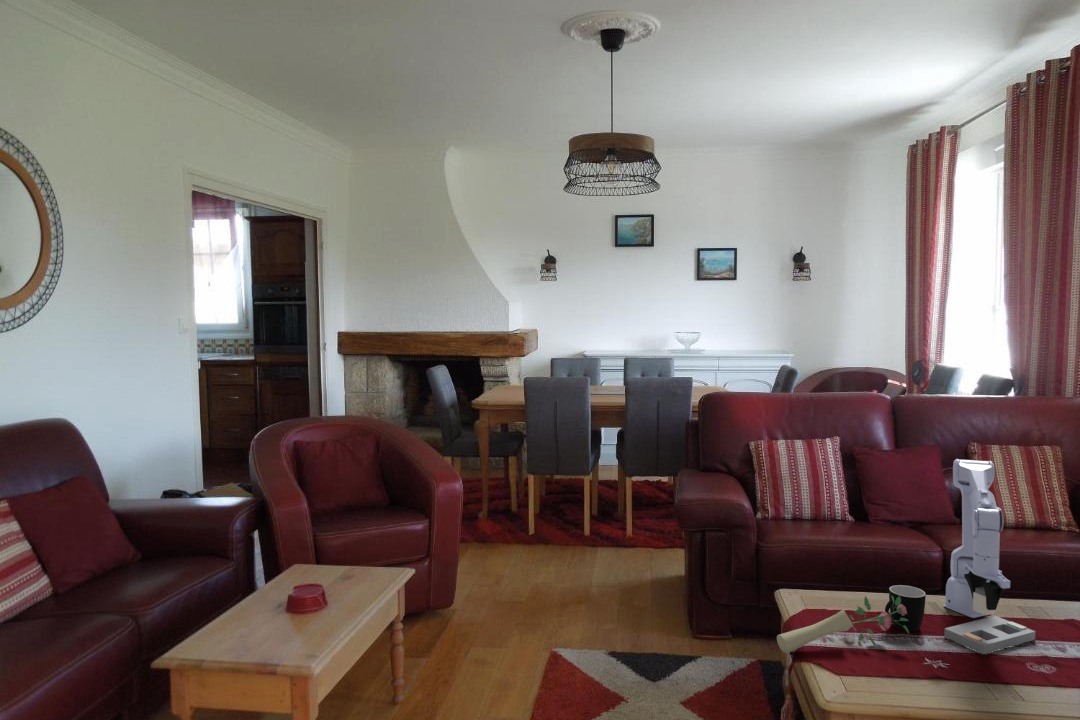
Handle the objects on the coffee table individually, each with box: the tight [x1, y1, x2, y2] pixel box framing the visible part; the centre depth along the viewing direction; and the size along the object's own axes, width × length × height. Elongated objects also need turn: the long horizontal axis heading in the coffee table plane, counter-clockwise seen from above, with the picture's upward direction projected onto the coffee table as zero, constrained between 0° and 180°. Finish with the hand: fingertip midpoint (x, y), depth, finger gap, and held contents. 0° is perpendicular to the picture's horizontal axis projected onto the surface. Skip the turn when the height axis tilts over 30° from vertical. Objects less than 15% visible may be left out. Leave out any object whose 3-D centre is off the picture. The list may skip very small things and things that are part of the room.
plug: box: [973, 587, 997, 616], centre depth 191 cm, size 4×4×6 cm
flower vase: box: [776, 595, 910, 655], centre depth 191 cm, size 12×12×35 cm
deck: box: [943, 615, 1036, 655], centre depth 195 cm, size 11×20×3 cm, turn 113°
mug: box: [884, 584, 926, 632], centre depth 202 cm, size 12×9×10 cm
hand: (984, 605), depth 191 cm, fingers closed on plug, 4 cm apart
